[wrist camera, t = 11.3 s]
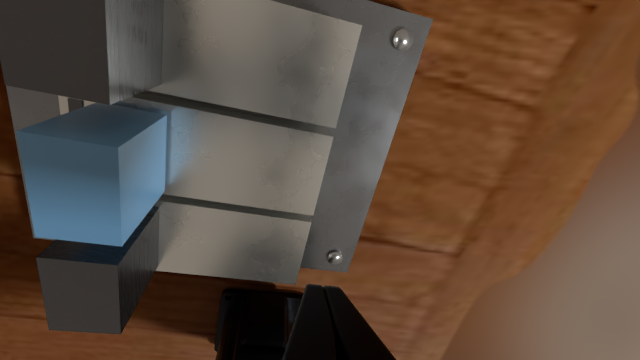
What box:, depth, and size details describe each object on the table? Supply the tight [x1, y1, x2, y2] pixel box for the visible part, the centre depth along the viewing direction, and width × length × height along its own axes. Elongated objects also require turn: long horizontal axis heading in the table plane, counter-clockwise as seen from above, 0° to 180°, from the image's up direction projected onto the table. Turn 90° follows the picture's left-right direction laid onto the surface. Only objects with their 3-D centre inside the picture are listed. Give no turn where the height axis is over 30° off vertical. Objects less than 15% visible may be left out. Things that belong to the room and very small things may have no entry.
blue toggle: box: [16, 103, 167, 247], centre depth 11 cm, size 4×2×4 cm
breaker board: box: [0, 0, 433, 334], centre depth 14 cm, size 16×19×8 cm
